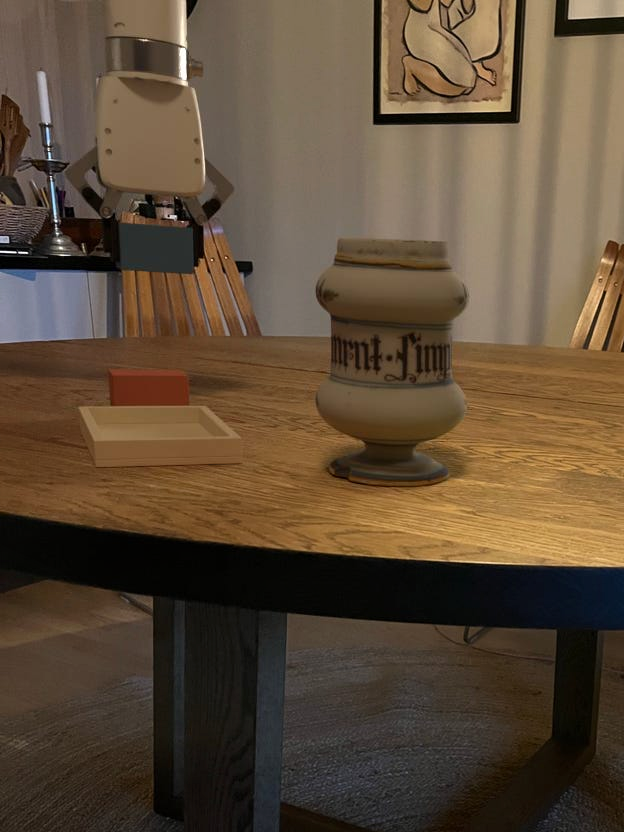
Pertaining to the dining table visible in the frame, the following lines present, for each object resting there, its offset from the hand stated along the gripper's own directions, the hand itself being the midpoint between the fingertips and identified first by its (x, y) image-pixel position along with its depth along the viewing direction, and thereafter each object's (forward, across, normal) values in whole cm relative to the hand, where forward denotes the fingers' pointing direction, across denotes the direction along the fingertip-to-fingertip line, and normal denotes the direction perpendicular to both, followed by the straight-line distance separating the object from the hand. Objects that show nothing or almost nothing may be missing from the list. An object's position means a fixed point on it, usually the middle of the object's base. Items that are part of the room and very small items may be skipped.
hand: (154, 262), depth 105 cm
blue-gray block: (+1, 0, 0) cm, 1 cm away
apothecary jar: (+14, -13, +37) cm, 41 cm away
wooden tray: (+14, +4, +23) cm, 27 cm away
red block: (+14, +2, +8) cm, 17 cm away
